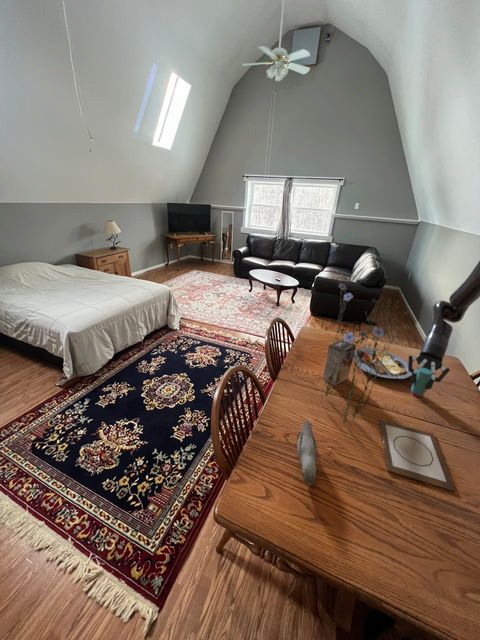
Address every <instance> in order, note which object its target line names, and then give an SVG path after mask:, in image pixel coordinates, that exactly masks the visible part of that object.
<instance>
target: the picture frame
mask: <svg viewBox="0 0 480 640" xmlns="http://www.w3.org/2000/svg"><path fill="white" fill-rule="evenodd" d="M379 427H380V433H381V439H382V445H383V451H384V452H383V453H384V458H385V465H386V470H387V473H391V474H393V475H397V476H400V477H403V478H406V479H410V480H413V481H416V482H418V483H419V482H420V483H423V484H425V485H429V486H432V487H436V488H439V489H441V490H444V491H449V492H451V493H456V489H455V486H454V483H453V480H452V478H451V475H450V474H449V471H448V467H447V465H446V462H445V460H444V457H443V455H442V452H441V450H440V447H439V445H438V441H437V440H436V437H435V434H434V433H432V432H429V431H425V430H421V429H418V428H414V427H411V426H406V425H402V424H398V423H394V422H391V421H388V420H383V419H379Z"/></svg>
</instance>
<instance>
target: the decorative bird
mask: <svg viewBox="0 0 480 640" xmlns="http://www.w3.org/2000/svg"><path fill="white" fill-rule="evenodd" d="M295 440H297V444H296V445H297V446H296V454H297V459H298V461H299V463H300V466H301V473H302V477H303V480H304V483H305V485H306V487H307V488H309V487H311V486H312V485H313V483H314V481H315V480H316V477H317V465H316V461H317V456H318V448H317V441H316V439H315V436H314V433H313V428H312V423H311V422H310V421H309V420H305V421H303V422H302V429H301V430H300V431H299V433H298V435H297V437H296V438H295Z"/></svg>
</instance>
